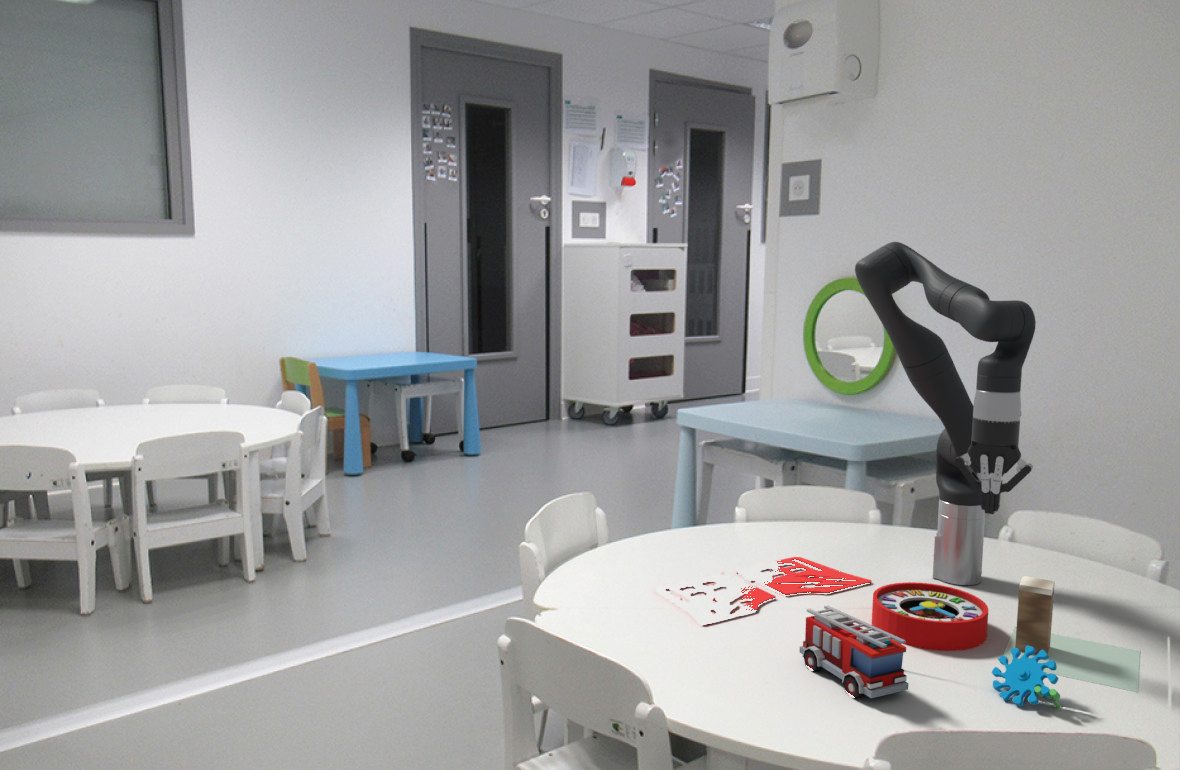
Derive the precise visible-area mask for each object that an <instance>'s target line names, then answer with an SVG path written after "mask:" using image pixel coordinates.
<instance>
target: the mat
mask: <svg viewBox="0 0 1180 770" xmlns="http://www.w3.org/2000/svg"><path fill="white" fill-rule="evenodd" d="M1016 629H1017V626H1014V627H1013V629H1012V632H1011V633H1010V634H1011V635H1010V637H1009V639H1008V642H1007V645H1006V646H1005V649H1004V652H1003V655H1005V656H1006V657H1007V659H1008V664H1011V663H1012V659H1013V656H1012V653H1011V652H1010V650H1011V649H1012V648H1015V644H1016ZM1003 655H1002V656H1003ZM1023 655H1024V652H1021V654H1020V656H1019V657H1018V658H1017V659H1020V658H1021V657H1022V656H1023ZM1034 656H1036V655H1034V654H1033V655H1031V656H1029V658H1032V657H1034ZM1048 656H1049V658H1048V659H1047V660H1039V661H1038V663H1045V662H1048V661H1050V660H1054V661H1055V663H1056V665H1057V669H1056V670H1054V671H1053V670H1050V669H1049V668H1045V669H1044V670H1043V671H1044V672H1045V673H1048V674H1055V675H1056V676H1059V677H1065V678H1069V679H1074V680H1079V681H1083V682H1088V683H1092V684H1096V685H1101V686H1107V687H1111V688H1116V689H1121V690H1126V691H1130V692H1135V693H1139V682H1140V681H1139V679H1140V662H1141V661H1140V660H1141V650H1138V649H1133V648H1128V647H1123V646H1116V645H1113V644H1107V643H1101V642H1097V641H1093V640H1087V639H1081V638H1076V637H1070V636H1066V635H1060V634H1055V633H1051V640H1050V648H1049V652H1048Z"/></svg>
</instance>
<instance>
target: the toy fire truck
mask: <svg viewBox="0 0 1180 770" xmlns="http://www.w3.org/2000/svg"><path fill="white" fill-rule="evenodd" d="M806 613H809V614H810V616H806V617H805V633H804V635H805V640H803V641H802V645H801V646H799V653H800V654H801V655H802V658H803V659H804V666H806V665H807V666H809V667H810V668H812V669H813V670H821V668H823V669H824V670H826V671H828V672H830V674H833V675H834V676H835V677H837V678H839V679H840V680H842V681H841V683H842V684H843V687H844V691H845V690H846V691H847V692H848V693H850V694H851V695H853V696H854V697H855V698H856V697H860V696H861V697H862V696H863V695H865V696H866V697H868V698H869V699H874V698H879V697H882V696H883V697H884V696H886V695H891V694H895V693H899V692H903V691H908V690H909V682H907V677H908V675H906V674H905V669H904V668H903V661H904V659H903V658H904V653H907V646H906V645H904V644H903V643H906V641H905V640H903V639H901V638H899V637H897V636H894V635H892V634H890V633H888V632H886V631H883V630H881V629H879V628H877V627H874V626H872V624H870V623H867V622H865V621H864V620H861V619H859V618H857V617H854V616H852V615H849V614H848V613H846V612H843V611H841V610H839V609H837V608H834V607H832V606H830V605H827V604H826V605H824V607H823V609H822V610H814V609H812V608H808V609H806ZM811 615H812V616H811ZM863 627H864V628H863ZM898 642H899V643H898ZM900 643H901V644H900ZM846 691H845V692H846ZM861 697H860V698H861ZM856 699H857V698H856Z"/></svg>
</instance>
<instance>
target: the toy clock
mask: <svg viewBox="0 0 1180 770" xmlns="http://www.w3.org/2000/svg"><path fill="white" fill-rule="evenodd" d="M871 607H872V608H871V609H872V610H871V625H872V626H874V627H877V628H879V629H881V630H883V631H886V632H888V633H890V634H892V635H894V636H897V637H899V638H901V639H903V640H905V641H906V643H903V644H901V643H900V644H901V645H904V646H910V647H912V648H913V647H914V648H918V649H924V650H931V651H944V652H947V651H948V652H950V651H951V652H953V651H954V652H956V651H957V652H958V651H965V650H970V649H974V648H977V647H980V646H981V645H984V643H985V642H986V640H987V639H988V626H989V606H988V605H987V604H986V602H985V601H983V600H982V599H981V598H980V597H977V596H976V595H974V594H972V593H970V592H966V591H964V590H961V589H958V588H955V587H951V586H946V585H943V584H942V585H941V584H937V583H927V582H916V581H915V582H910V581H909V582H895V583H889V584H886V585H882V586H880V587H878V588H877V589H876V590H875V589H874V592H873V593H872V606H871ZM898 643H899V642H898Z"/></svg>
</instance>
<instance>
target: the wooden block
mask: <svg viewBox="0 0 1180 770" xmlns="http://www.w3.org/2000/svg"><path fill="white" fill-rule="evenodd" d="M1055 582H1056V581H1055V580H1050V579H1043V578H1039V577H1032V576H1026V575H1023V576H1022V578H1021V580H1020V583H1019V587H1018V600H1017V601H1018V603H1017V616H1016V617H1017V619H1016V627H1017V629H1016V644H1015V648H1018V649H1019V650H1020V651H1021V652H1024V653H1025V647H1026V646H1027V645H1028V646H1031V647H1033V648H1034V649H1035V650H1036V652H1035V654H1034V655H1037V654H1038V653H1039V651H1040V650H1044V651H1045V652H1046V653H1047V655H1048V652H1049V648H1050V640H1051V634H1052V625H1053V611H1054V600H1055V599H1054V598H1055V597H1054V594H1055Z"/></svg>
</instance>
